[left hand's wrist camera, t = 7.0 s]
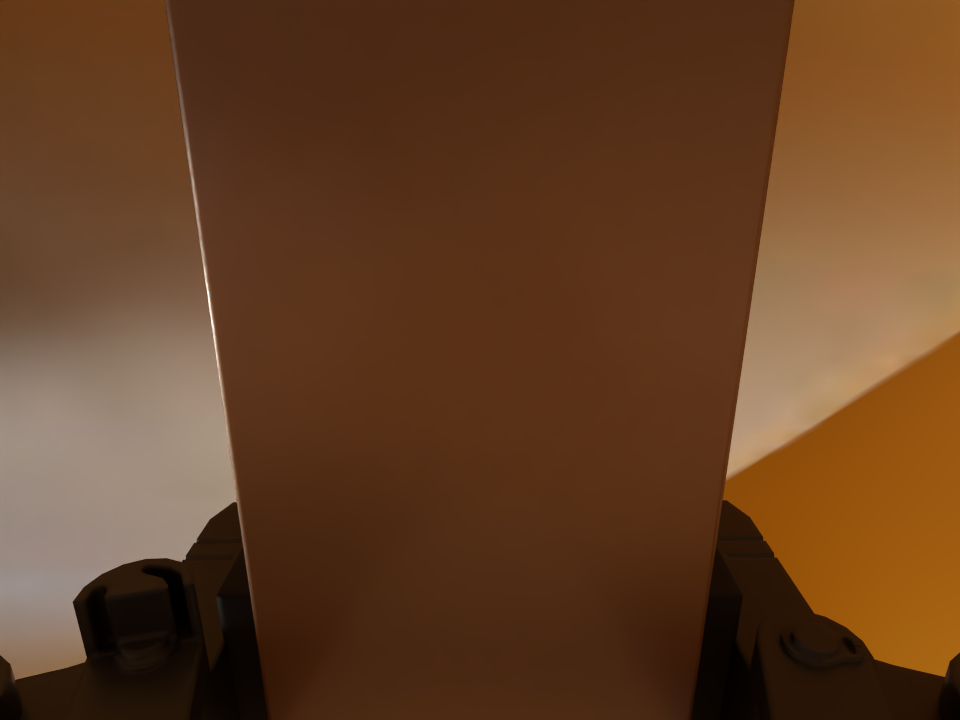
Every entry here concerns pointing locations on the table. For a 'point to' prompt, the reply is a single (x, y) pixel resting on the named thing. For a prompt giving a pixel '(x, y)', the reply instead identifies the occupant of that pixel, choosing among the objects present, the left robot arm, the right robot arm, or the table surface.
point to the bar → (479, 336)
